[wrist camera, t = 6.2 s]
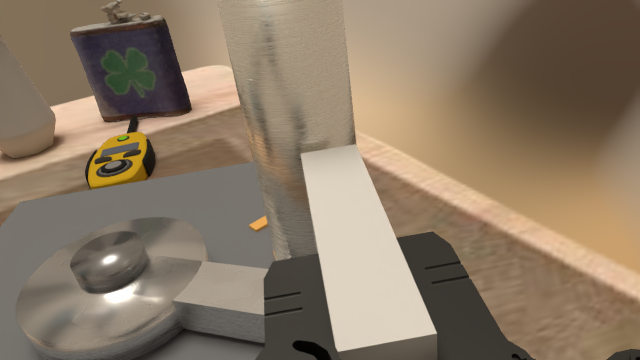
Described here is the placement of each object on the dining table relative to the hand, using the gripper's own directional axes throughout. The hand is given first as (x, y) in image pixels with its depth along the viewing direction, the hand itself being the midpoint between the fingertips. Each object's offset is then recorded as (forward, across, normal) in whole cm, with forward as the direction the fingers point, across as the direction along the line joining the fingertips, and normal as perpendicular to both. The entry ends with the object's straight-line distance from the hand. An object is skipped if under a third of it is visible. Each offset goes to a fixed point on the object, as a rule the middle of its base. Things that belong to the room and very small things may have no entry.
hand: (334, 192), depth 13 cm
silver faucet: (+5, -6, -7) cm, 11 cm away
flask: (+35, -15, -9) cm, 39 cm away
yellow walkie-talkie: (+26, -15, -10) cm, 31 cm away
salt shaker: (+31, -25, -9) cm, 41 cm away
